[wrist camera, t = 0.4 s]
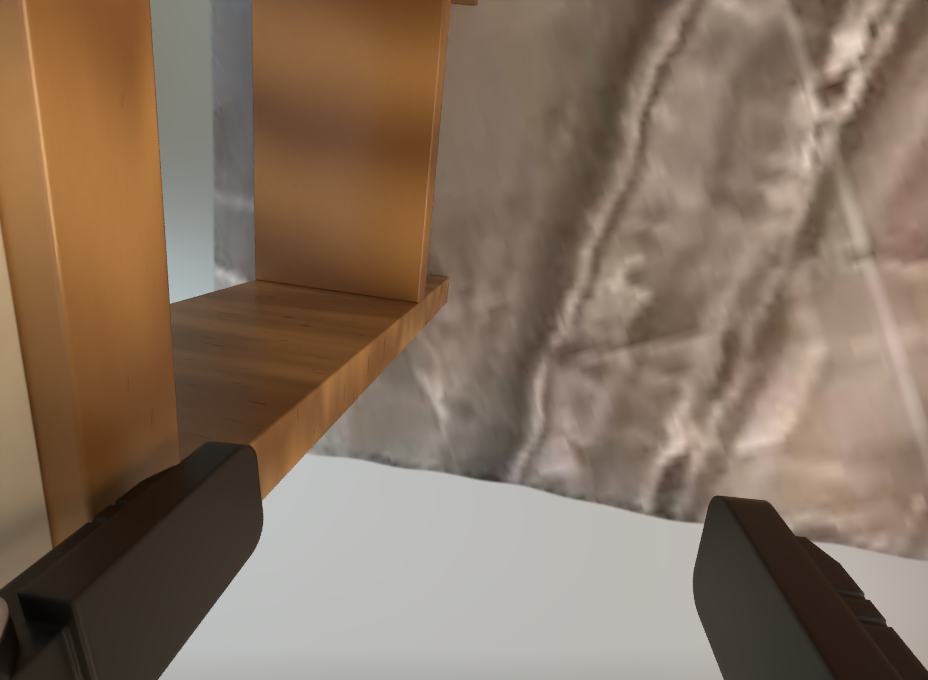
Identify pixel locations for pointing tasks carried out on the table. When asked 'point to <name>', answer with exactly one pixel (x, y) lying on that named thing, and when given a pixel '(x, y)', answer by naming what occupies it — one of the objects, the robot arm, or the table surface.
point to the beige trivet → (17, 451)
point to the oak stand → (276, 237)
